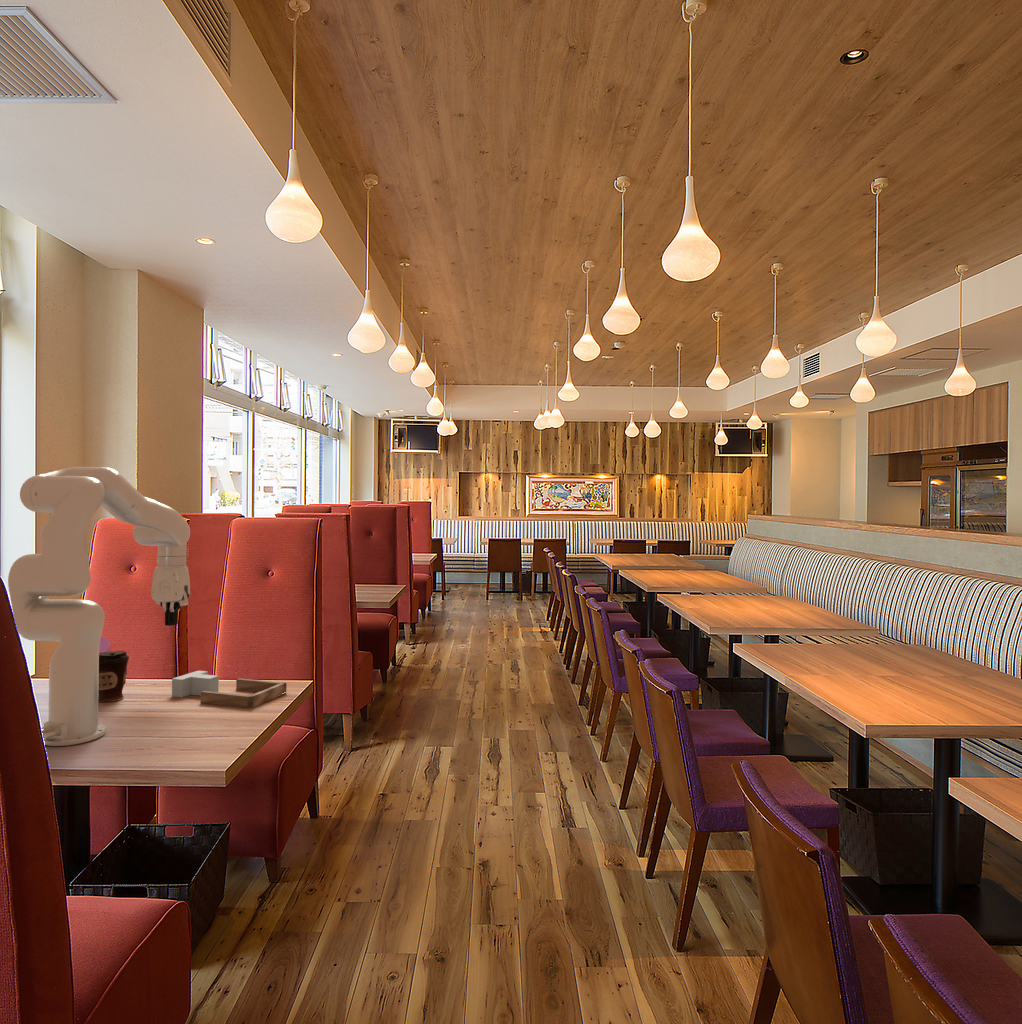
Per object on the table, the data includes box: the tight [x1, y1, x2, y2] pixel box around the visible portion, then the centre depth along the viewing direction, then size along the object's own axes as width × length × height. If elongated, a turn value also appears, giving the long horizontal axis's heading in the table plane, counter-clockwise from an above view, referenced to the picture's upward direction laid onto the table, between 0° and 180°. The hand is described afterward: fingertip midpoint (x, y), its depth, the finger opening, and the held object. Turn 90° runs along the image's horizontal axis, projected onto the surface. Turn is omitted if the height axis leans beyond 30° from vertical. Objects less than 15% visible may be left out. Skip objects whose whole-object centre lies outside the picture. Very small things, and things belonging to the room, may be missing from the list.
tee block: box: [171, 670, 220, 698], centre depth 187 cm, size 10×10×5 cm
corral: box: [200, 677, 287, 709], centre depth 183 cm, size 15×16×3 cm
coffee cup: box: [98, 650, 130, 703], centre depth 180 cm, size 9×8×13 cm
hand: (171, 624), depth 190 cm, fingers closed
